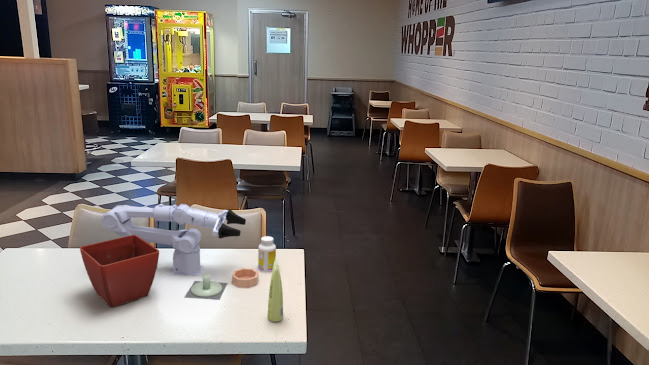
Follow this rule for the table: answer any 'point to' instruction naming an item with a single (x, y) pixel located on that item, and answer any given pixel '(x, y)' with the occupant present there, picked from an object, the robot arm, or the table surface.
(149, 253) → the plant pot
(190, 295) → the mat
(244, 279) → the bowl
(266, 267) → the supplement bottle
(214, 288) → the lid
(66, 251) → the table surface
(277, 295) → the tube
